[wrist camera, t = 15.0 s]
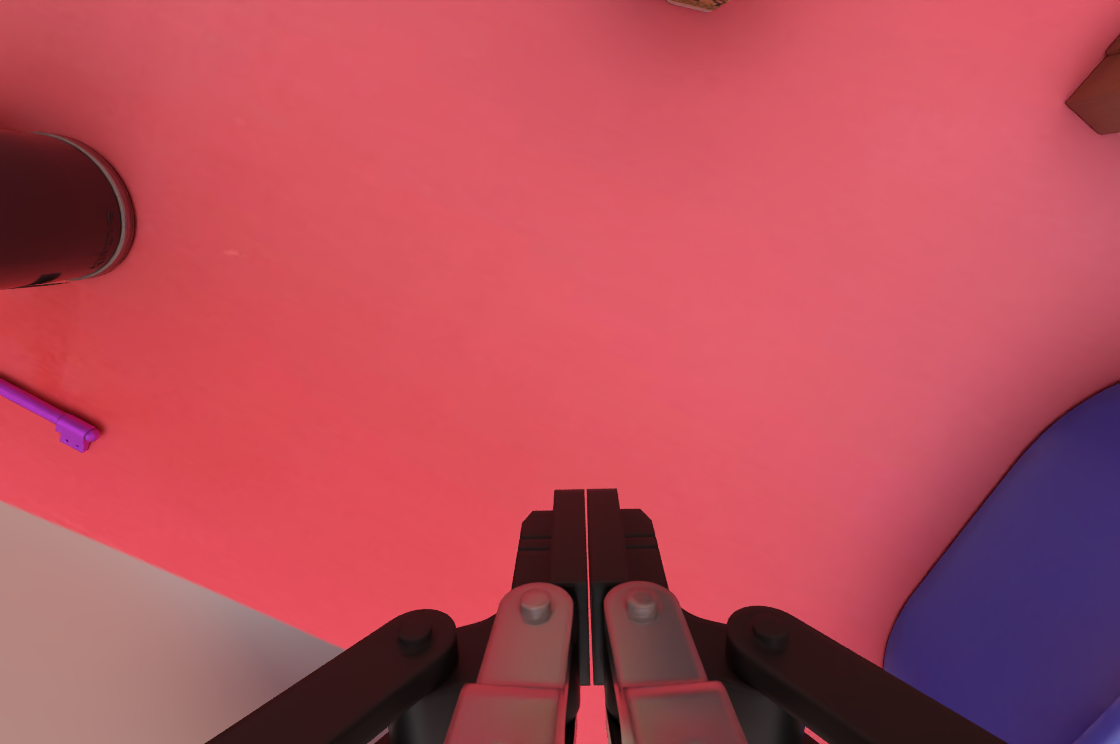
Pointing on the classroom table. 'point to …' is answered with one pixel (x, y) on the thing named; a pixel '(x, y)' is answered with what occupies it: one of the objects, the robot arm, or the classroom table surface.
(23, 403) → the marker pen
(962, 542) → the blue plastic tub
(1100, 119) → the wooden toy
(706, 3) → the ceramic cup
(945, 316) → the classroom table surface
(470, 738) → the robot arm
